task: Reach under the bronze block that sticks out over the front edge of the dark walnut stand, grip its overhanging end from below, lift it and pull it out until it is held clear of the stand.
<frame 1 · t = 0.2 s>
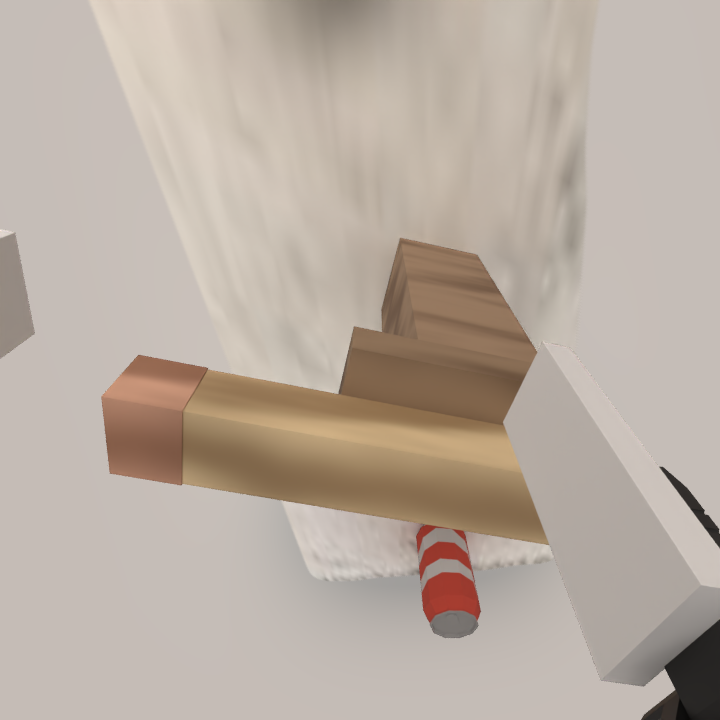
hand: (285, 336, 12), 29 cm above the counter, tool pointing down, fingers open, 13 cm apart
bronze block: (394, 439, 22), point 22 cm above the counter, touching walnut stand
walnut stand: (411, 279, 41), on the counter
beverage can: (440, 530, 59), on the counter
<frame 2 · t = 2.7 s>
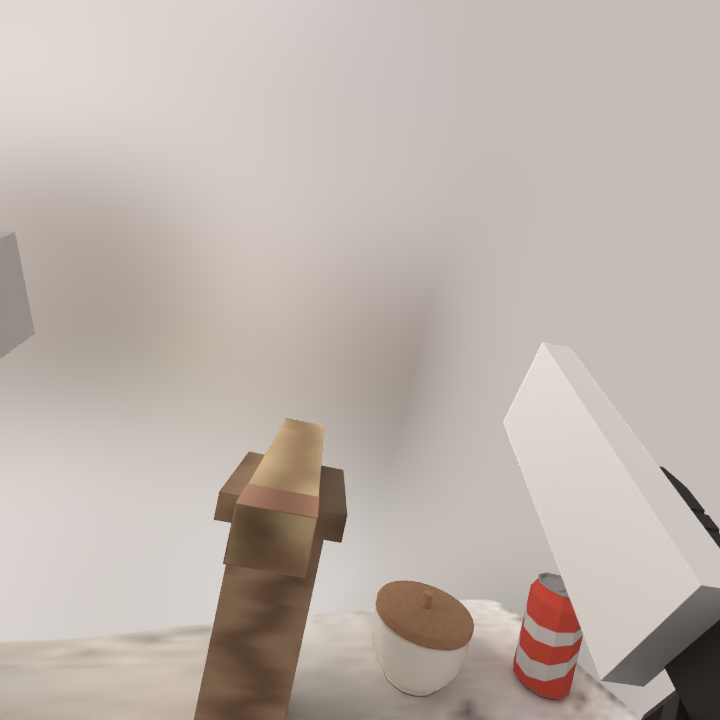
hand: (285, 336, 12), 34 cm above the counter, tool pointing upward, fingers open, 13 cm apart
bronze block: (288, 489, 34), point 22 cm above the counter, touching walnut stand
lidded jar: (409, 676, 50), on the counter
beverage can: (538, 684, 53), on the counter
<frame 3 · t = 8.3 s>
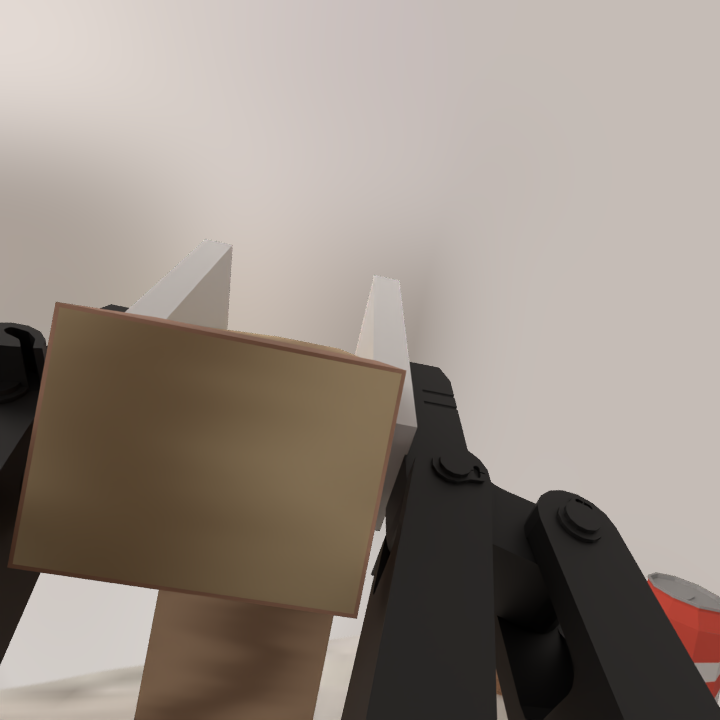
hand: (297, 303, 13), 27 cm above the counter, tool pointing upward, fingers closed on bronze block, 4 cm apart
bronze block: (282, 418, 17), point 22 cm above the counter, touching gripper, walnut stand
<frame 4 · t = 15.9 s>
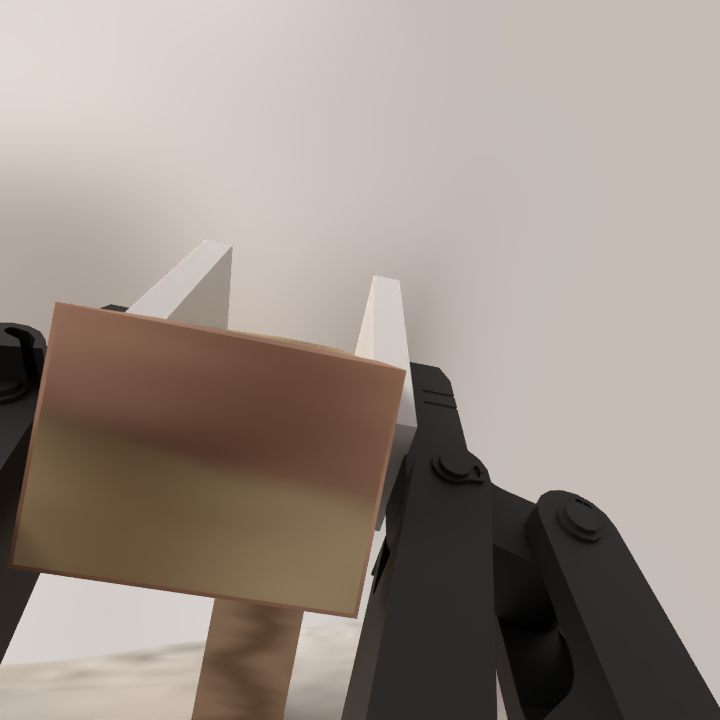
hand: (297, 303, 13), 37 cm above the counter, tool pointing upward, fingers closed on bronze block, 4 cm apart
bronze block: (282, 418, 17), point 32 cm above the counter, touching gripper
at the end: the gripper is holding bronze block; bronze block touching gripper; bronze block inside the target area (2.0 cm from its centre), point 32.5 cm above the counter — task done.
